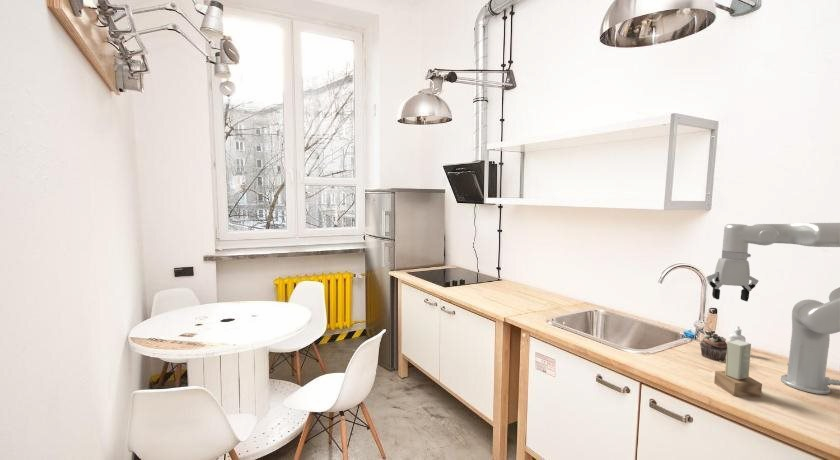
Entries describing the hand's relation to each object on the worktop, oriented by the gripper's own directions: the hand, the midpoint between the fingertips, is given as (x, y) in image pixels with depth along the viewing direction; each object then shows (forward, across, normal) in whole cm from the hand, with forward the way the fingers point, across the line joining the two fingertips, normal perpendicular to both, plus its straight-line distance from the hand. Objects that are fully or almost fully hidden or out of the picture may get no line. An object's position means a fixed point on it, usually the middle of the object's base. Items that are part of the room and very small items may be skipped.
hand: (729, 299), depth 147 cm
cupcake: (+29, -3, -13) cm, 32 cm away
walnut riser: (+29, +5, +18) cm, 34 cm away
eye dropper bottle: (+28, -16, -21) cm, 39 cm away
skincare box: (+24, +5, +17) cm, 30 cm away
